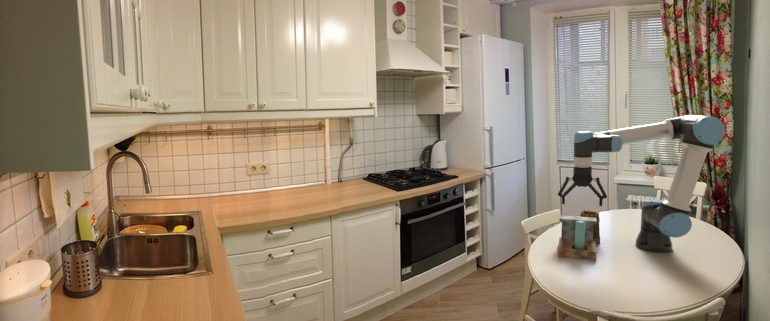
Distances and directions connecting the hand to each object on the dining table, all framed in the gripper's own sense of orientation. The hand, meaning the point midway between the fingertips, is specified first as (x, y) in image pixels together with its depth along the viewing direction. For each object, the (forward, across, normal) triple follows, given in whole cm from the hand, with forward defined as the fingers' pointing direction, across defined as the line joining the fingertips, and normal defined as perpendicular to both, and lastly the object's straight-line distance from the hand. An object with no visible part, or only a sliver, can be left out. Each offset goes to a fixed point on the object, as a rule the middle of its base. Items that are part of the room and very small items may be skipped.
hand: (581, 212), depth 204 cm
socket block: (+21, +2, -4) cm, 21 cm away
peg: (+21, +1, 0) cm, 21 cm away
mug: (+21, -3, -24) cm, 32 cm away
